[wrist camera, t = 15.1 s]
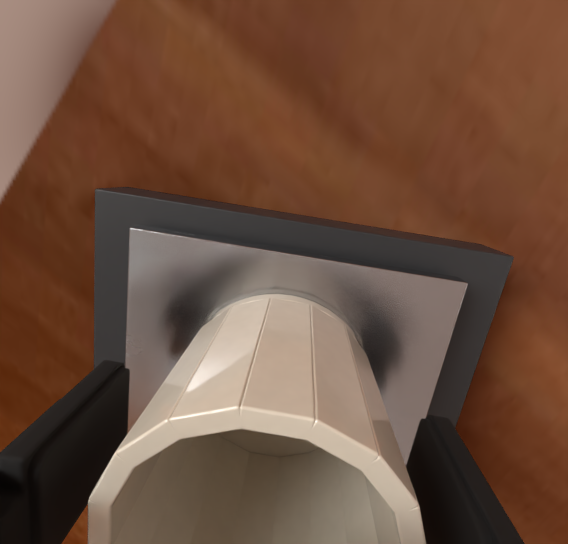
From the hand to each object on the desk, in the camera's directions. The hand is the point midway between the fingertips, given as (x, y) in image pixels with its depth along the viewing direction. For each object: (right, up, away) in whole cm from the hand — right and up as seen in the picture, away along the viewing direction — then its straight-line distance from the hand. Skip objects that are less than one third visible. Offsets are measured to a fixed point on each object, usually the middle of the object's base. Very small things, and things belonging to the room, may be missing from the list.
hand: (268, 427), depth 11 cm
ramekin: (0, +1, +3) cm, 3 cm away
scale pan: (0, +1, +3) cm, 3 cm away
